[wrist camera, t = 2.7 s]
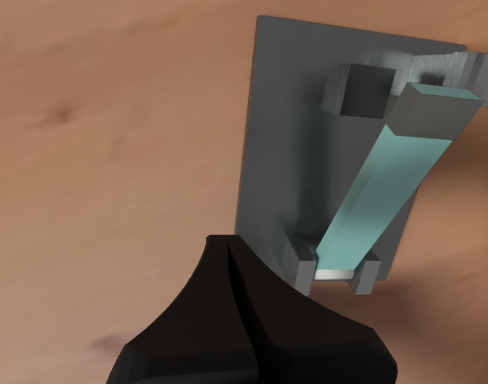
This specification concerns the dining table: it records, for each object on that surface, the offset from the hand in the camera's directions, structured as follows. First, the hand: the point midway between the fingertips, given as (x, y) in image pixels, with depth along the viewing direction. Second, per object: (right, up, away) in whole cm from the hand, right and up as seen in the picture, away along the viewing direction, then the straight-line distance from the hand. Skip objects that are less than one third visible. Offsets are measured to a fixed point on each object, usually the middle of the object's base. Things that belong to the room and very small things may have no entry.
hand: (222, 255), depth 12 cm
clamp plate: (+8, +4, +10) cm, 13 cm away
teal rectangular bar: (+8, +2, +6) cm, 10 cm away
